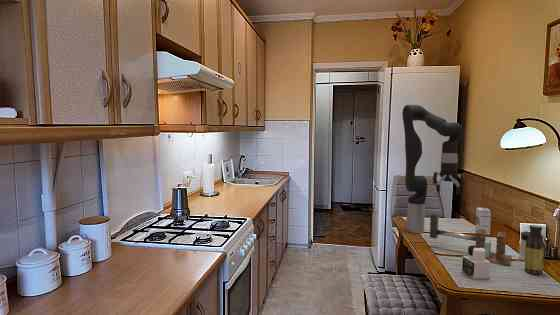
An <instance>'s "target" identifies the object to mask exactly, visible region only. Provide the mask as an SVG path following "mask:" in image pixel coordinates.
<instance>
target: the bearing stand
mask: <svg viewBox="0 0 560 315" xmlns="http://www.w3.org/2000/svg"><path fill="white" fill-rule="evenodd" d="M475 234H476V235H475V236H476V241H475V246H480V247H482V248H484V242H485V240H486V230H483V229H478V231H477V232H476V233H475ZM506 241H507V232H500V231H498V232H497V235H496V247H495V248H496V249H495V251H496V252H493V251H490V256H489V258H486V257H485V259H486V260H488V261H490V264H491V263H492V264H497V265H501V266H506V267H511V266H512V265H511V264H512V255H511V254H510V255H509V254H506V244H507V242H506Z"/></svg>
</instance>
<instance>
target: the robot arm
mask: <svg viewBox="0 0 560 315" xmlns="http://www.w3.org/2000/svg"><path fill="white" fill-rule="evenodd" d="M414 121H421V122H424V123H425V125H427V127H429V128H430V129H432V130H435V131H436V132H437V133H438V134H439V135H440V136H442V137H449V138H448V139H447V140H445V141H443V142H442V143H441V144H442V145H441V157H440V172H439V171H434V172H433V175H432V176H433V178H432V184H435V185H436V191H437V193H440V192H441V183H442V182H450V183H451V182H453V183H454V185H455V186H456V187H455V194H456V195H459V194H460V192H461V187H464V186H465V174H464V173H458V163H459V158H458V157H459V156H458V150H459V148H458V146H459V143H460V140H461V137H462V134H463V127H462V124H460V123H459V122H447V120H446V119H445V118H442V117H440V116H439V115H438V116H437V115H435V114H434V113H432V112H430V111H428V110H427V109H425V107H423V106H422V105H419V104H406V105H404V106H403V109H402V123H403V129H404V151H405V178H404V179H405V189H406V191H408V192H410V193H413V192H414V194H412V195H411V196H409V197H408V198H407V215H406V217H405V218H406V222H405V223H406V225H405V231H406V232H409V233H413V234H424V233H425V213H426V212H425V208H426V200H427V190H428V181H427V179H426V177H425V176H424V175H416V167H417V165H418V162H419V161H420V159H421V157H422V155H423V142H422V140H421V138H420V136H419V135H418V133H417V131H416V130H415V127H414ZM439 176H440V179H439V180H437V179H438V177H439ZM457 177H458V178H459V179H460V182H459V181H458V179H457Z"/></svg>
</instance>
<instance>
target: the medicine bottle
mask: <svg viewBox="0 0 560 315" xmlns="http://www.w3.org/2000/svg"><path fill="white" fill-rule="evenodd" d="M461 264H462V266H461V267H462V268H461V272H462V273H463V274H465V275H466V276H468V277H469V278H471V279H472V280H485V279H490V277H491V274H490V273H491V262H490V261H488V260H486V259H485V249H484V248H482V247H480V246H476V244H475V245H474V244H473V245H469V246H468V248H467V255H462V263H461Z"/></svg>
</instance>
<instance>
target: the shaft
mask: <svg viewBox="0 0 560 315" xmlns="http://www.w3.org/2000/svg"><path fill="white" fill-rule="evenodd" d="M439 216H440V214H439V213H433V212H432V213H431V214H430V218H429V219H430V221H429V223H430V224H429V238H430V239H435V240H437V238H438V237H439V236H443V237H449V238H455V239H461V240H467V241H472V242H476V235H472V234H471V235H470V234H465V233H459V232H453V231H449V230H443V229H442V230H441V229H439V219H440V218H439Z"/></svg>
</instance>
